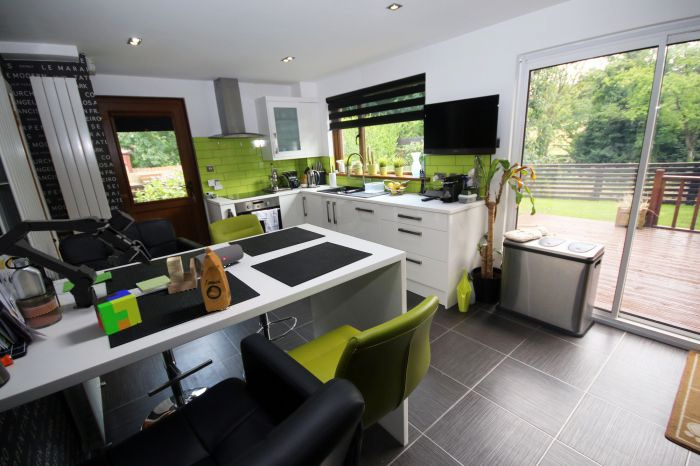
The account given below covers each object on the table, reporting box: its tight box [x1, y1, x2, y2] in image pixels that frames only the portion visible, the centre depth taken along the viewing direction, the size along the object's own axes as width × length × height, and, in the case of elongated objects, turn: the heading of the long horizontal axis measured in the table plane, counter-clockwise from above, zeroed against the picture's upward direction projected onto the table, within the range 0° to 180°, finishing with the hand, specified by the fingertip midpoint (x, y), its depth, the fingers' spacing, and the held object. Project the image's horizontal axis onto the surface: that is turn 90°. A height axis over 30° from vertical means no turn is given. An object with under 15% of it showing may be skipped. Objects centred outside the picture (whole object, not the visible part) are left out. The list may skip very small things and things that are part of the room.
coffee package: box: [200, 246, 232, 313], centre depth 118 cm, size 10×12×22 cm
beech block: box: [166, 255, 185, 284], centre depth 138 cm, size 5×5×11 cm
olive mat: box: [135, 274, 170, 293], centre depth 144 cm, size 12×12×1 cm
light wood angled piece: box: [166, 257, 198, 295], centre depth 139 cm, size 11×13×10 cm
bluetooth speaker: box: [193, 243, 245, 274], centre depth 159 cm, size 23×9×10 cm, turn 143°
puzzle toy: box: [92, 289, 143, 336], centre depth 110 cm, size 10×10×10 cm
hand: (151, 262), depth 134 cm, fingers open, 9 cm apart
